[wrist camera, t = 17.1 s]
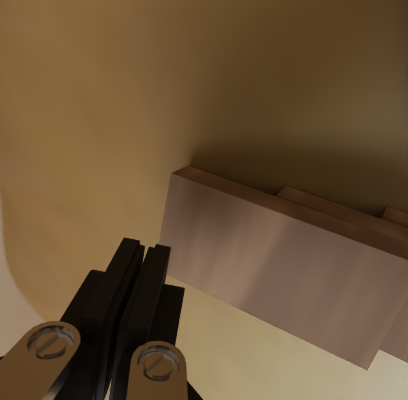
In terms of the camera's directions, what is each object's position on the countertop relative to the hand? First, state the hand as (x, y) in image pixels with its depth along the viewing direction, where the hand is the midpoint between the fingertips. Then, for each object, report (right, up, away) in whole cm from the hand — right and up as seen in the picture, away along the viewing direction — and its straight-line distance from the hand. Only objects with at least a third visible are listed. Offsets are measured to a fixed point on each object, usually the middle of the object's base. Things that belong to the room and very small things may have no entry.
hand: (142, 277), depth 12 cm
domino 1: (+1, +2, +5) cm, 5 cm away
